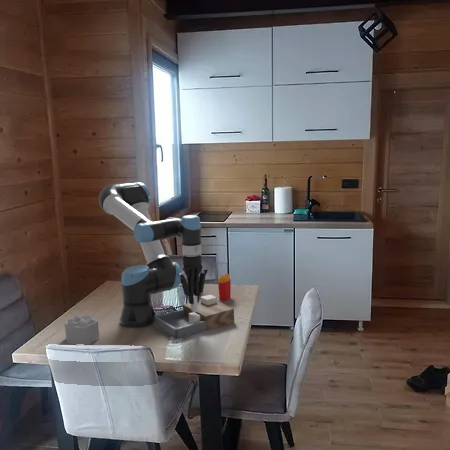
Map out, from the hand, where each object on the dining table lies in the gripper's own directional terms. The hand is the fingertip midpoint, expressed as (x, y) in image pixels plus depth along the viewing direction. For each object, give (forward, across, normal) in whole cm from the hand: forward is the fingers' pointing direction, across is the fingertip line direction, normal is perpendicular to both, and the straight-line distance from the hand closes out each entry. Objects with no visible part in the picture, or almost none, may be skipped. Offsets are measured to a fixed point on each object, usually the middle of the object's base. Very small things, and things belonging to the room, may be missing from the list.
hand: (194, 310), depth 201 cm
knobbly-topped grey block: (+8, -41, +19) cm, 46 cm away
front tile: (+4, +1, 0) cm, 4 cm away
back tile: (+1, +12, +8) cm, 14 cm away
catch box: (+7, -5, +4) cm, 10 cm away
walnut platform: (+7, +9, +4) cm, 12 cm away
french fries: (+8, +30, +22) cm, 38 cm away
